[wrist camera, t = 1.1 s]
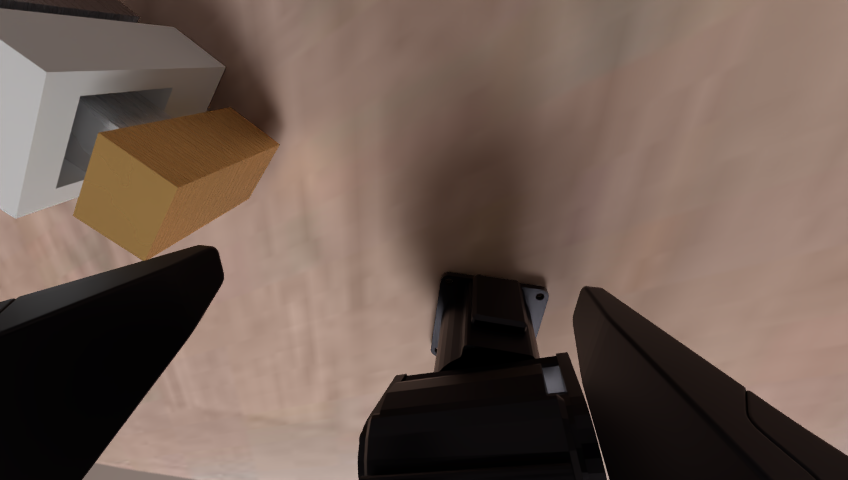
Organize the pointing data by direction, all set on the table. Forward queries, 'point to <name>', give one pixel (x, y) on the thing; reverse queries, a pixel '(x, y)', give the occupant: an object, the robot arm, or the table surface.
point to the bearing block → (81, 91)
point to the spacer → (75, 8)
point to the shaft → (160, 168)
